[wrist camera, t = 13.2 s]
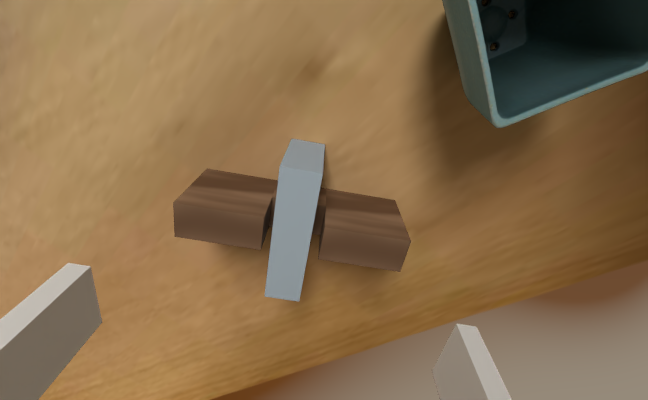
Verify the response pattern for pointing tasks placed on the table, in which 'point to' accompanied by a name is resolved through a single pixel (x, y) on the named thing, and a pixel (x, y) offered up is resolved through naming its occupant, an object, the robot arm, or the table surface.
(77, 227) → the table surface
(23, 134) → the table surface
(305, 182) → the light blue notched brick
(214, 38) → the table surface
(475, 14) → the flower pot
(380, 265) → the walnut notched block
